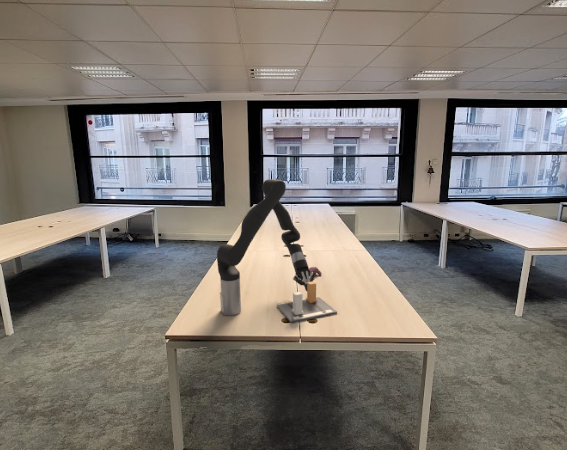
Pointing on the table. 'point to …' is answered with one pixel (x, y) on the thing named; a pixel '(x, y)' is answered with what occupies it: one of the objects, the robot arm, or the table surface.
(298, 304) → the white slide tab
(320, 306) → the switch panel
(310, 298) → the orange tab
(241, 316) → the table surface
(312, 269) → the video game controller
